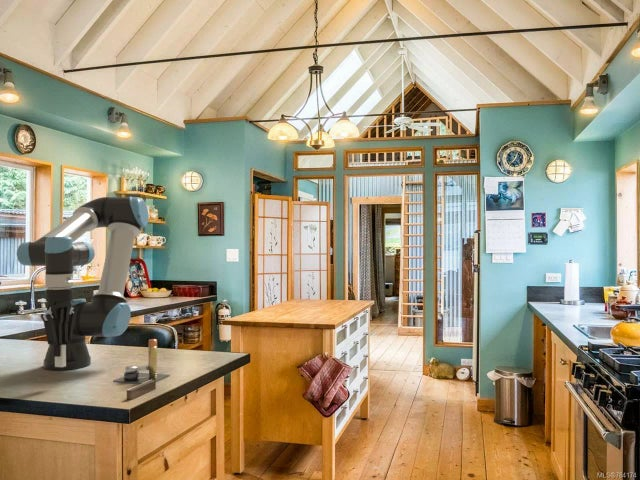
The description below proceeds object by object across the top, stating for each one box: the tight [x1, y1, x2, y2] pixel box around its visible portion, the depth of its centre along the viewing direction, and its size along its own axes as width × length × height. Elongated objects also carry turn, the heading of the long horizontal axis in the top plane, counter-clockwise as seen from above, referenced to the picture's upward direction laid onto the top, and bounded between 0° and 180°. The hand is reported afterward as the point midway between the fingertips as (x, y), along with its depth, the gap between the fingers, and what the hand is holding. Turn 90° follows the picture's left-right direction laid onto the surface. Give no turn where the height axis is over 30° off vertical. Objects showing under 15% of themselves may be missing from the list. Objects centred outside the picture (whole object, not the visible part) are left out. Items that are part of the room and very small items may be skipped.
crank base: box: [112, 345, 171, 385], centre depth 173 cm, size 13×12×10 cm
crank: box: [125, 338, 158, 373], centre depth 173 cm, size 10×4×10 cm, turn 120°
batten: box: [126, 380, 157, 401], centre depth 155 cm, size 2×12×3 cm, turn 165°
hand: (60, 366), depth 163 cm, fingers closed
